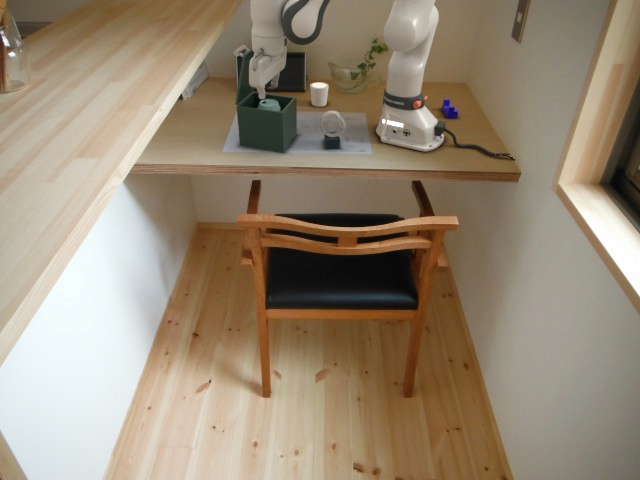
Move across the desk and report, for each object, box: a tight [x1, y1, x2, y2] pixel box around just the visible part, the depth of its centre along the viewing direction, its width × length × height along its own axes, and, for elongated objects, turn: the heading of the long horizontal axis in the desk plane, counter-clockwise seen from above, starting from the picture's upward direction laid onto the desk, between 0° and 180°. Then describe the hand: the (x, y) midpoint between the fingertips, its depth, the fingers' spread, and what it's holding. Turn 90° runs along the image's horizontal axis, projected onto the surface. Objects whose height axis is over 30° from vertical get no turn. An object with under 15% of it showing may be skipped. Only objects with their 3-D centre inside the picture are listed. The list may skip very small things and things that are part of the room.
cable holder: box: [441, 98, 459, 119], centre depth 166 cm, size 8×4×4 cm, turn 2°
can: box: [258, 99, 281, 112], centre depth 143 cm, size 7×7×12 cm
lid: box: [233, 44, 255, 106], centre depth 136 cm, size 15×13×5 cm
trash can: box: [235, 91, 298, 153], centre depth 144 cm, size 15×13×13 cm
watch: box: [319, 110, 347, 150], centre depth 143 cm, size 6×8×11 cm
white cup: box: [309, 81, 330, 108], centre depth 170 cm, size 7×7×7 cm
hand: (268, 92), depth 138 cm, fingers open, 8 cm apart
